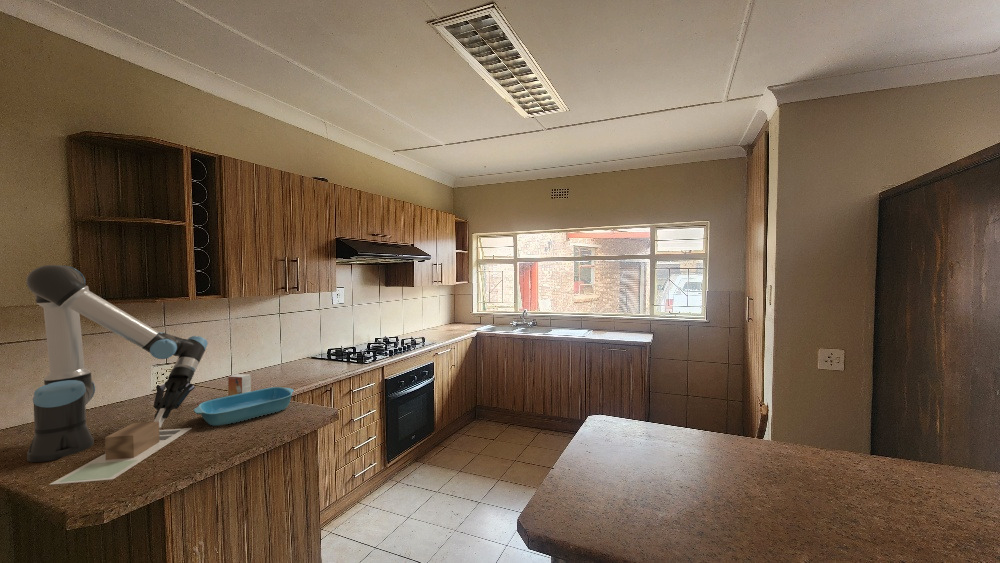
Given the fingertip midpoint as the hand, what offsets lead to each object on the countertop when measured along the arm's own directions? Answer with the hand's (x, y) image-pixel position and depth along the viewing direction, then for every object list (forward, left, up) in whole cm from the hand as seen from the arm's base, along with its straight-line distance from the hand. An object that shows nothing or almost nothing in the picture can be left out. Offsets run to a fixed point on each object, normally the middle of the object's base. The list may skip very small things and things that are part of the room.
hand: (156, 426), depth 142 cm
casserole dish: (+21, +22, -5) cm, 31 cm away
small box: (+6, +49, -5) cm, 50 cm away
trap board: (0, -12, -5) cm, 13 cm away
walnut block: (0, -11, -4) cm, 12 cm away
